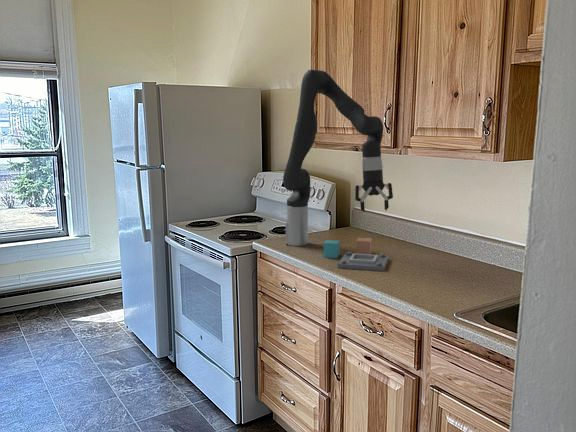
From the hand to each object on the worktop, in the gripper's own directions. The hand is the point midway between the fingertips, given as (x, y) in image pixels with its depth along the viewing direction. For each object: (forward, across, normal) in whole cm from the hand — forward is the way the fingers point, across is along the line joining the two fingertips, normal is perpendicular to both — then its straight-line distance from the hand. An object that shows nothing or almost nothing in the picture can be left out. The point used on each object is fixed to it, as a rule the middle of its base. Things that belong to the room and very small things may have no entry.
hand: (374, 210), depth 205 cm
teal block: (+18, +18, -4) cm, 25 cm away
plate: (+19, +6, +7) cm, 21 cm away
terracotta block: (+18, +5, -8) cm, 21 cm away
